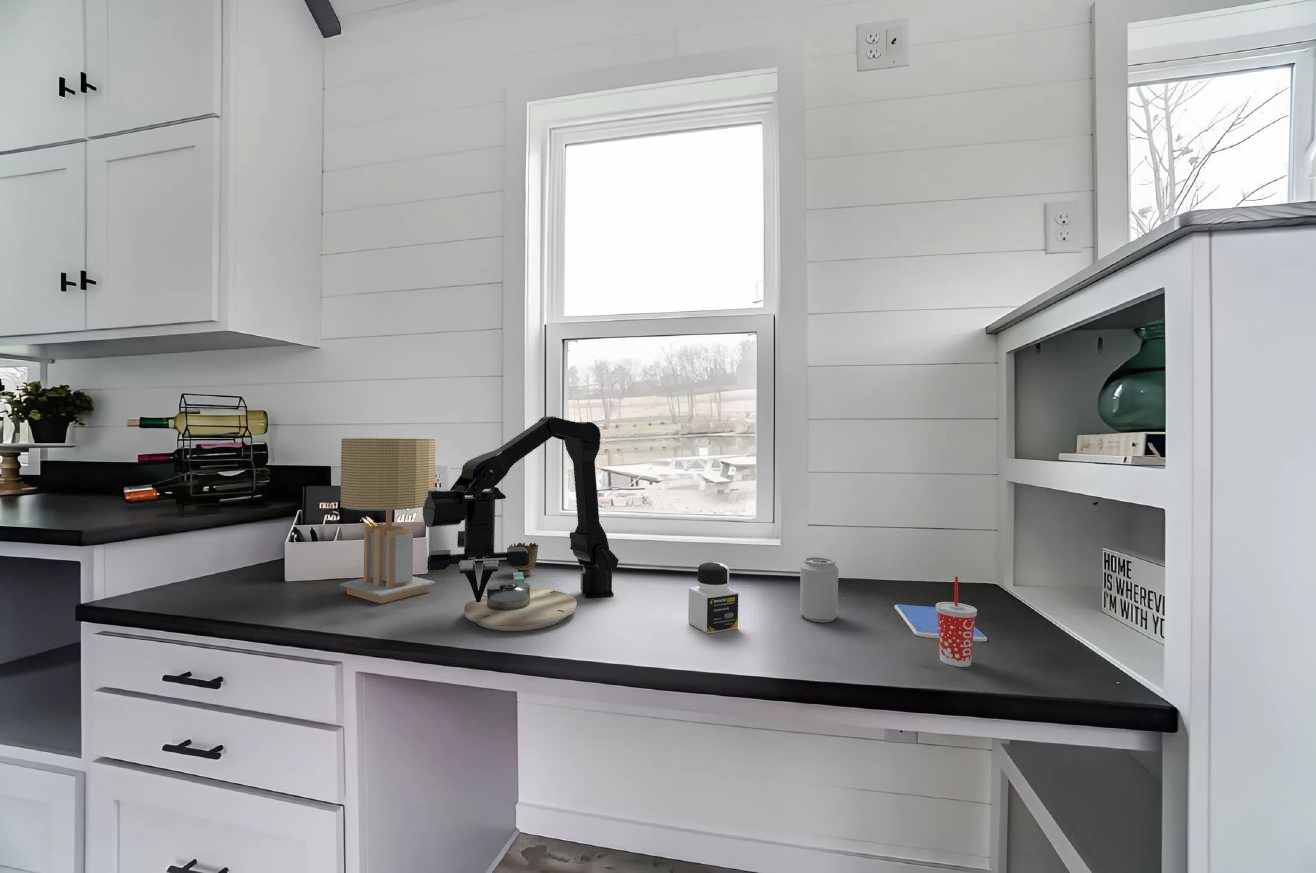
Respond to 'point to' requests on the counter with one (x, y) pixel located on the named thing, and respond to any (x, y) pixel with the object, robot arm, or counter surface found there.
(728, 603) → the medicine bottle
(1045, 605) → the counter surface
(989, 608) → the counter surface
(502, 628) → the turntable base
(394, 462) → the desk lamp
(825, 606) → the can
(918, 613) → the tablet computer
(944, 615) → the beverage cup
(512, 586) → the iron cover
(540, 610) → the turntable
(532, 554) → the cup
